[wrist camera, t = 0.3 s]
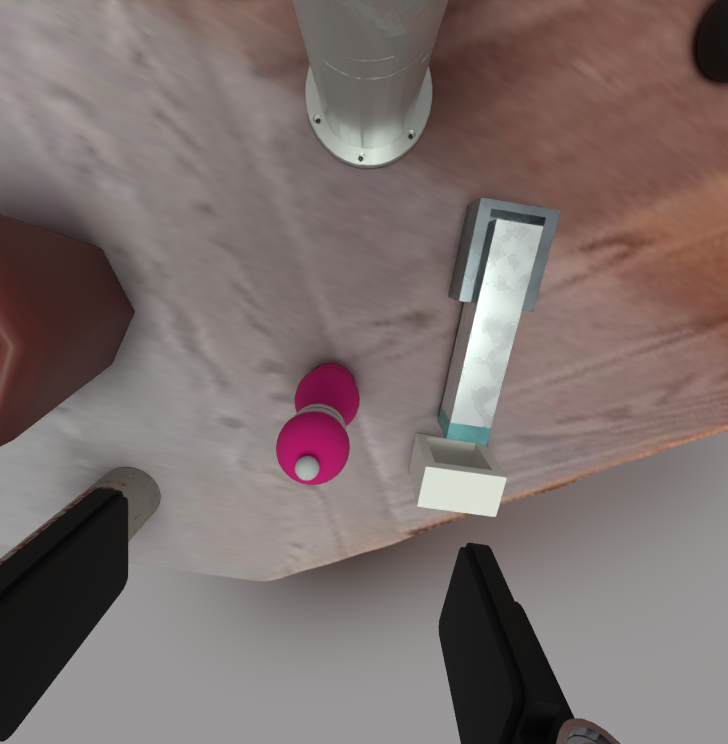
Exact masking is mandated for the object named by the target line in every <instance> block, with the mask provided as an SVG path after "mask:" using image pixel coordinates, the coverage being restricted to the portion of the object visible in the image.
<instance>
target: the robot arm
mask: <svg viewBox="0 0 728 744" xmlns="http://www.w3.org/2000/svg"><path fill="white" fill-rule="evenodd" d="M292 2H293V5H294V9H295V12H296V17H297V20H298V24H299V27H300V31H301V34H302V38H303V42H304V45H305V49H306V52H307V56H308V60H309V63H310V65H309V68H308V71H307V77H306V83H305V102H306V108H307V114H308V117H309V120H310V123H311V126H312V128H313V130H314V132H315V135H316V136H317V138H318V139H319V141H320V142H321V144H322V145H323V146H324V147H325V148H326V150H327V151H328V152H329V153H330V154H331V155H333V156H334V157H336V158H337V159H338V160H340V161H341V162H344V163H346V164H348V165H350V166H354V167H358V168H378V167H383V166H386V165H389V164H391V163H393V162H396V161H397V160H398V159H400V158H401V157H403V156H404V155H406V154H407V153H408V152H409V150H410V149H411V148H412V147H413V146H414V145H415V144H416V142H417V141H418V139H419V138H420V136H421V135H422V132H423V130H424V128H425V126H426V124H427V121H428V118H429V115H430V111H431V105H432V89H433V85H432V79H431V72H430V69H429V66H428V65H429V62H430V58H431V55H432V52H433V48H434V45H435V42H436V39H437V35H438V32H439V29H440V26H441V22H442V19H443V16H444V12H445V9H446V6H447V2H448V0H292ZM317 120H320V121H321V122H320V123H319V124H317V123H316V121H317ZM409 135H412V136H413V139H409V138H408V136H409ZM359 157H362V158H363V161H361V162H360V161H359V160H358V159H359ZM127 579H128V499H127V497H124V496H123V493H122V491H120V490H114V489H107V488H96V489H94V490H93V491H92V492H90V493H89V494H88V495H87V496H85V497H84V498H83V499H82V500H80V501H79V502H78V503H77V504H75V505H74V506H73V507H72V508H70V509H69V510H68V511H67V512H65V513H64V514H63V515H62V516H60V517H59V518H58V519H57V520H55V521H54V522H53V523H52V524H50V525H49V526H48V527H47V528H45V529H44V530H43V531H42V532H40V533H39V534H38V535H37V536H35V537H34V538H33V539H32V540H30V541H29V542H28V543H27V544H25V545H24V546H23V547H22V548H20V549H19V550H18V551H17V552H15V553H14V554H13V555H12V556H10V557H9V558H8V559H7V560H5V561H4V562H3V563H2V564H0V741H2V742H3V741H5V740H7V739H8V738H9V737H10V736H11V735H12V734H13V733H14V732H15V730H16V729H17V728H18V727H19V725H20V724H21V723H22V721H23V720H24V719H25V717H26V716H27V715H28V713H29V712H30V711H31V709H32V708H33V707H34V706H35V704H36V703H37V701H38V700H39V699H40V697H41V696H42V695H43V694H44V692H45V691H46V690H47V689H48V687H49V686H50V685H51V683H52V682H53V681H54V679H55V678H56V677H57V675H58V674H59V673H60V671H61V670H62V669H63V668H64V666H65V665H66V664H67V662H68V661H69V660H70V658H71V657H72V656H73V655H74V653H75V652H76V651H77V649H78V648H79V647H80V645H81V644H82V643H83V642H84V640H85V639H86V638H87V636H88V635H89V634H90V632H91V631H92V630H93V628H94V627H95V626H96V625H97V623H98V622H99V621H100V619H101V618H102V617H103V615H104V614H105V613H106V611H107V610H108V609H109V608H110V606H111V605H112V603H113V602H114V601H115V600H116V598H117V597H118V596H119V595H120V593H121V591H122V590H123V589H124V586H125V585H126V582H127ZM439 636H440V642H441V646H442V651H443V656H444V661H445V666H446V671H447V676H448V681H449V686H450V691H451V696H452V701H453V706H454V711H455V716H456V721H457V725H458V731H459V736H460V741H461V744H620V743H619V742H618V741H617V740H616V739H615V738H613V736H611V735H610V734H609V733H608V732H607V731H606V730H604V729H602V728H601V727H599V726H597V725H596V724H595V723H592V722H589V721H587V720H584V719H575V718H574V716H573V714H572V712H571V710H570V707H569V705H568V703H567V701H566V699H565V697H564V695H563V693H562V690H561V688H560V686H559V684H558V682H557V680H556V677H555V675H554V673H553V671H552V669H551V667H550V665H549V663H548V660H547V658H546V656H545V654H544V652H543V650H542V648H541V646H540V643H539V641H538V639H537V637H536V635H535V633H534V630H533V628H532V626H531V624H530V622H529V620H528V618H527V615H526V613H525V611H524V609H523V608H522V606H521V605H520V604H519V603H518V602H515V601H514V599H513V597H512V594H511V592H510V590H509V588H508V586H507V583H506V581H505V579H504V577H503V574H502V572H501V570H500V568H499V566H498V563H497V561H496V559H495V557H494V554H493V552H492V550H491V548H490V547H489V546H488V545H482V544H474V543H468V544H467V545H466V547H461V548H460V550H459V553H458V556H457V560H456V563H455V567H454V570H453V574H452V577H451V581H450V584H449V588H448V591H447V595H446V599H445V602H444V605H443V609H442V613H441V616H440V620H439Z"/></svg>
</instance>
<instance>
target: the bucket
mask: <svg viewBox="0 0 728 744" xmlns="http://www.w3.org/2000/svg"><path fill="white" fill-rule="evenodd" d="M134 313H135V311H134V309H133V307H132V305H131V304H130V302H129V300H128V298H127V296H126V294H125V292H124V290H123V288H122V286H121V284H120V282H119V281H118V279H117V277H116V275H115V273H114V271H113V269H112V267H111V265H110V263H109V261H108V259H107V258H106V256H105V254H104V252H103V250H102V249H101V248H98V247H95V246H92V245H89V244H86V243H83V242H80V241H77V240H74V239H71V238H68V237H65V236H62V235H59V234H56V233H53V232H50V231H47V230H45V229H42V228H39V227H36V226H33V225H30V224H27V223H24V222H21V221H18V220H15V219H12V218H9V217H6V216H3V215H0V446H2V445H4V444H6V443H8V442H10V441H12V440H14V439H15V438H17V437H18V436H19V435H20V434H22V433H23V432H24V431H26V430H27V429H28V428H29V427H31V426H32V425H33V424H35V423H36V422H37V421H39V420H40V419H41V418H42V417H44V416H45V415H46V414H48V413H49V412H50V411H51V410H53V409H54V408H55V407H57V406H58V405H59V404H61V403H62V402H63V401H64V400H66V399H67V398H68V397H70V396H71V395H72V394H74V393H75V392H76V391H77V390H79V389H80V388H81V387H83V386H84V385H85V384H86V383H88V382H89V381H90V380H92V379H93V378H94V377H96V376H97V375H98V374H99V373H101V372H102V371H103V370H105V369H106V368H107V367H108V366H110V365H111V364H112V362H113V360H114V358H115V355H116V353H117V351H118V349H119V346H120V344H121V342H122V340H123V337H124V335H125V333H126V331H127V328H128V326H129V324H130V322H131V319H132V317H133V315H134Z"/></svg>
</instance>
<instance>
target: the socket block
mask: <svg viewBox="0 0 728 744" xmlns="http://www.w3.org/2000/svg"><path fill="white" fill-rule="evenodd" d="M409 470H410V475H411V480H412V485H413V489H414V494H415V499H416V503H417V506H418V507H425V508H433V509H440V510H448V511H455V512H463V513H470V514H478V515H485V516H493V517H496V514H497V511H498V507H499V504H500V500H501V497H502V493H503V490H504V486H505V483H506V479H507V477H506V475H505V474H504V472H503V471H502V469H501V468H500V467H499V465H498V464H497V462H496V461H495V459H494V458H493V456H492V455H491V453H490V452H489V450H488V449H487V447H486V446H485V445H484V444H477V443H469V442H462V441H455V440H448V439H446V438H445V437H438V436H431V435H423V434H416V436H415V441H414V445H413V450H412V455H411V460H410V465H409Z"/></svg>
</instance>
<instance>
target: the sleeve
mask: <svg viewBox="0 0 728 744" xmlns="http://www.w3.org/2000/svg"><path fill="white" fill-rule="evenodd" d="M559 215H560V210H554V209H548V208H542V207H536V206H530V205H523V204H517V203H511V202H505V201H499V200H493V199H487V198H480V199H478V200H477V201H475V202H473V203H472V204H470V205H468V206H467V211H466V216H465V220H464V225H463V230H462V235H461V240H460V245H459V249H458V254H457V259H456V264H455V269H454V273H453V278H452V283H451V288H450V293H449V297H450V298H453V299H456V300H459V301H465V302H471V298H472V293H473V289H474V285H475V280H476V276H477V271H478V267H479V262H480V258H481V253H482V249H483V244H484V240H485V236H486V231H487V227H488V222H491V221H493V220H496V219H500V220H506V221H512V222H518V223H525V224H531V225H537V226H543V230H542V234H541V238H540V242H539V246H538V249H537V253H536V257H535V261H534V265H533V268H532V272H531V276H530V280H529V284H528V287H527V291H526V295H525V299H524V303H523V306H522V310H523V311H530V312H533V310H534V307H535V303H536V299H537V296H538V292H539V288H540V285H541V281H542V277H543V273H544V270H545V266H546V262H547V259H548V255H549V251H550V248H551V244H552V240H553V237H554V233H555V229H556V226H557V222H558V218H559Z"/></svg>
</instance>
